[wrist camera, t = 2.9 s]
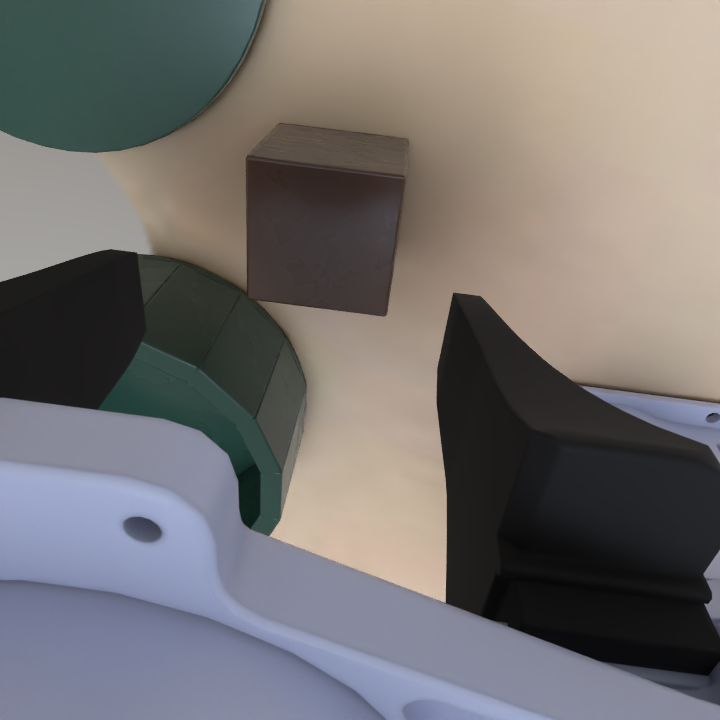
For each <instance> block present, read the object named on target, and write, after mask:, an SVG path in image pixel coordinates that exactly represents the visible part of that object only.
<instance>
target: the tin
mask: <svg viewBox="0 0 720 720" xmlns="http://www.w3.org/2000/svg"><path fill="white" fill-rule="evenodd" d="M137 256H138V263H139V271H140V279H141V287H142V295H143V303H144V311H145V319H146V327H147V331H146V333H145V335H144V338H143V340H142V342H141V344H140V346H139V348H138V350H137V352H136V354H135V356H134V358H133V360H132V362H131V364H130V365H129V366H128V368H127V369H126V371H125V372H124V374H123V375H122V376H121V378H120V379H119V381H118V382H117V384H116V385H115V386H114V388H113V389H112V390H111V392H110V393H109V395H108V396H107V397H106V399H105V400H104V401H103V403H102V404H101V406H100V407H99V408H98V410H101V411H108V412H116V413H124V414H131V415H139V416H146V417H154V418H162V419H166V420H169V421H172V422H175V423H178V424H181V425H184V426H187V427H190V428H193V429H196V430H199V431H201V432H202V433H203V434H205V435H206V436H207V437H208V438H209V439H210V440H212V441H213V442H214V443H215V444H216V445H217V446H219V447H220V448H221V449H222V450H223V451H225V452H226V453H227V454H228V456H229V458H230V461H231V464H232V466H233V469H234V472H235V474H236V477H237V479H238V492H239V511H240V516H241V520H242V522H243V524H244V525H246V526H247V527H248V528H249V529H251V530H253V531H256V532H259V533H261V534H264V535H267V536H270V534H271V533H272V531H273V530H274V529H275V527H276V526H277V524H278V523H279V521H280V519H281V516H282V512H283V508H284V504H285V500H286V496H287V493H288V489H289V485H290V481H291V477H292V473H293V469H294V465H295V461H296V458H297V454H298V450H299V446H300V442H301V438H302V434H303V429H304V416H305V409H306V388H305V382H304V377H303V373H302V370H301V367H300V364H299V361H298V358H297V356H296V354H295V352H294V350H293V348H292V346H291V344H290V342H289V341H288V339H287V338H286V336H285V335H284V333H283V332H282V330H281V329H280V327H279V326H278V325H277V324H276V323H275V321H274V320H273V319H272V318H271V317H270V316H269V315H268V313H267V312H266V311H265V310H264V309H263V308H261V307H260V306H259V305H258V304H257V303H256V302H255V301H254V300H252V299H248V296H247V295H246V294H245V293H244V292H242V291H241V290H239V289H238V288H237V287H235V286H234V285H232V284H231V283H229V282H227V281H225V280H224V279H222V278H220V277H218V276H217V275H215V274H213V273H210V272H208V271H206V270H203V269H201V268H199V267H197V266H194V265H191V264H188V263H185V262H181V261H178V260H175V259H171V258H165V257H160V256H155V255H143V254H137Z"/></svg>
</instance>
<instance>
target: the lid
mask: <svg viewBox="0 0 720 720" xmlns="http://www.w3.org/2000/svg"><path fill="white" fill-rule="evenodd" d="M266 1H267V0H0V130H1V131H3V132H5V133H7V134H10V135H12V136H14V137H16V138H20V139H23V140H26V141H29V142H32V143H35V144H38V145H42V146H45V147H50V148H56V149H61V150H66V151H76V152H92V153H98V152H109V151H121V150H125V149H129V148H133V147H137V146H142V145H145V144H148V143H150V142H153V141H155V140H157V139H160V138H162V137H165V136H167V135H169V134H170V133H172V132H174V131H175V130H177V129H179V128H180V127H182V126H183V125H185V124H187V123H188V122H190V121H191V120H193V119H194V118H195V117H196V116H198V115H199V114H200V113H201V112H202V111H203V110H205V109H206V108H207V107H208V106H209V105H210V104H212V103H213V101H214V100H215V99H216V98H217V97H218V96H219V94H220V93H221V92H222V91H223V90H224V89H225V87H226V86H227V85H228V84H229V83H230V81H231V80H232V78H233V76H234V75H235V73H236V72H237V70H238V68H239V67H240V65H241V64H242V62H243V60H244V59H245V57H246V55H247V53H248V50H249V48H250V46H251V44H252V42H253V39H254V37H255V35H256V33H257V30H258V28H259V24H260V21H261V18H262V15H263V11H264V8H265V5H266Z"/></svg>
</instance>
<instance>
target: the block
mask: <svg viewBox="0 0 720 720" xmlns="http://www.w3.org/2000/svg"><path fill="white" fill-rule="evenodd" d="M408 146H409V141H408V139H405V138H396V137H388V136H380V135H372V134H364V133H356V132H348V131H340V130H331V129H323V128H315V127H307V126H299V125H291V124H283V123H279V124H278V125H277V126H276V127H275V128H274V129H273V130H272V131H271V132H270V133H269V134H268V135H267V136H266V137H265V138H264V139H263V140H262V141H261V142H260V143H259V144H258V145H257V146H256V147H255V148H254V149H253V150H252V151H251V152H250V153H249V154H248V155H247V157H246V223H247V296H248V299H252V300H260V301H268V302H275V303H283V304H291V305H299V306H306V307H314V308H322V309H330V310H338V311H345V312H353V313H361V314H369V315H376V316H386V315H387V311H388V304H389V297H390V290H391V283H392V276H393V269H394V262H395V255H396V248H397V240H398V233H399V226H400V219H401V212H402V205H403V198H404V191H405V184H406V175H407V160H408Z"/></svg>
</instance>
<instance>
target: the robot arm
mask: <svg viewBox="0 0 720 720" xmlns="http://www.w3.org/2000/svg"><path fill="white" fill-rule="evenodd" d="M146 331H147V327H146V319H145V311H144V303H143V295H142V287H141V279H140V271H139V263H138V256H137V253H135V252H127V251H119V250H112V249H110V250H104V251H99V252H95V253H92V254H88V255H84V256H81V257H78V258H75V259H72V260H69V261H66V262H63V263H60V264H57V265H54V266H51V267H48V268H45V269H42V270H39V271H36V272H32V273H29V274H26V275H23V276H19V277H16V278H13V279H9V280H6V281H2V282H0V720H720V404H718V403H710V402H702V401H695V400H687V399H679V398H672V397H664V396H656V395H648V394H641V393H633V392H625V391H618V390H610V389H602V388H595V387H587V386H579V385H577V384H576V383H574V382H573V381H571V380H570V379H569V378H567V377H566V376H564V375H563V374H562V373H560V372H559V371H558V370H556V369H555V368H553V367H552V366H551V365H550V364H548V363H547V362H546V361H545V360H543V359H542V358H541V357H540V356H539V355H538V354H537V353H536V352H534V351H533V350H532V349H531V348H530V347H529V346H528V345H527V344H526V343H525V342H524V341H523V340H521V339H520V338H519V337H518V336H517V335H516V334H515V333H514V331H513V330H512V329H511V328H510V327H509V326H508V325H507V324H506V323H505V322H504V321H503V320H502V319H501V318H500V316H499V315H498V314H497V313H496V312H495V311H494V310H493V309H492V308H491V307H490V305H489V304H488V303H487V302H486V301H485V300H484V299H483V298H482V297H481V296H475V295H467V294H459V293H453V297H452V301H451V306H450V311H449V316H448V320H447V325H446V330H445V335H444V339H443V344H442V349H441V354H440V359H439V363H438V370H437V410H438V419H439V428H440V436H441V444H442V452H443V460H444V469H445V477H446V490H447V572H446V603H444V602H441V601H439V600H436V599H433V598H431V597H428V596H425V595H423V594H420V593H417V592H415V591H412V590H409V589H407V588H404V587H401V586H399V585H396V584H394V583H391V582H388V581H386V580H383V579H380V578H378V577H375V576H372V575H370V574H367V573H364V572H362V571H359V570H356V569H354V568H351V567H349V566H346V565H343V564H341V563H338V562H335V561H333V560H330V559H327V558H325V557H322V556H319V555H317V554H314V553H312V552H309V551H306V550H304V549H301V548H298V547H296V546H293V545H290V544H288V543H285V542H282V541H280V540H277V539H274V538H272V537H269V536H267V535H264V534H261V533H259V532H256V531H253V530H251V529H249V528H248V527H247V526H246V525H244V524H243V522H242V520H241V516H240V511H239V492H238V479H237V477H236V474H235V472H234V469H233V466H232V464H231V461H230V458H229V456H228V454H227V453H226V452H225V451H223V450H222V449H221V448H220V447H219V446H217V445H216V444H215V443H214V442H213V441H212V440H210V439H209V438H208V437H207V436H206V435H205V434H203V433H202V432H201V431H199V430H196V429H193V428H190V427H187V426H184V425H181V424H178V423H175V422H172V421H169V420H166V419H162V418H154V417H146V416H139V415H131V414H124V413H116V412H108V411H101V410H98V408H99V407H100V406H101V404H102V403H103V401H104V400H105V399H106V397H107V396H108V395H109V393H110V392H111V390H112V389H113V388H114V386H115V385H116V384H117V382H118V381H119V379H120V378H121V376H122V375H123V374H124V372H125V371H126V369H127V368H128V366H129V365H130V364H131V362H132V360H133V358H134V356H135V354H136V352H137V350H138V348H139V346H140V344H141V342H142V340H143V338H144V335H145V333H146ZM711 413H715V414H714V415H712V416H710V417H707V416H708V415H709V414H711Z"/></svg>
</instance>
